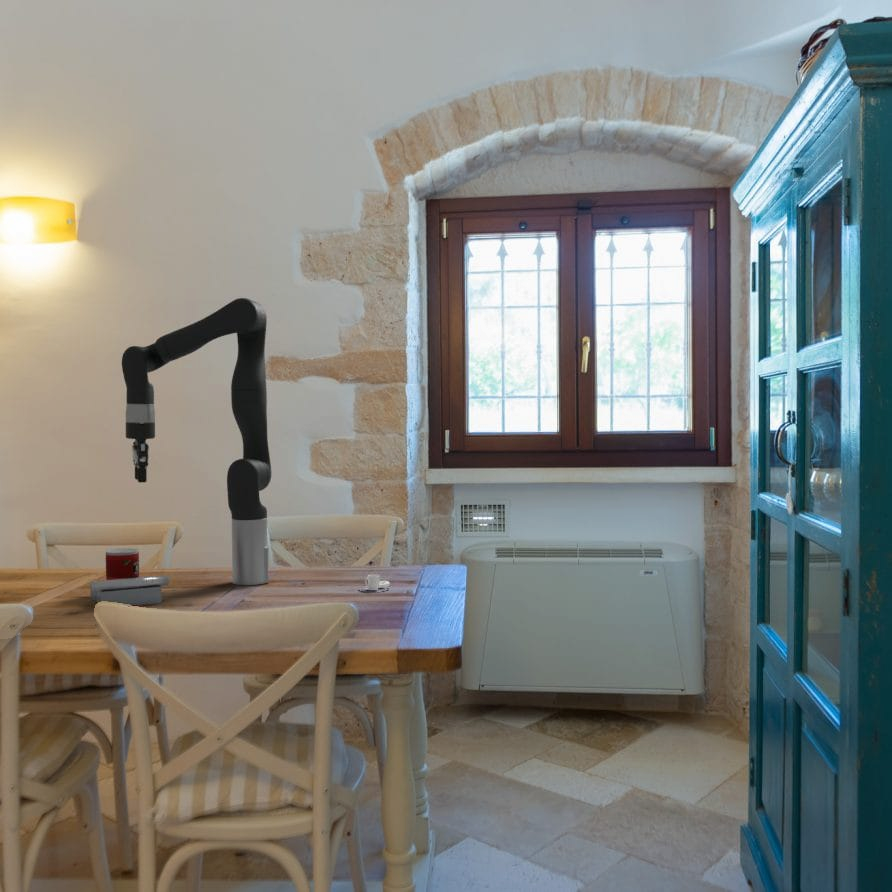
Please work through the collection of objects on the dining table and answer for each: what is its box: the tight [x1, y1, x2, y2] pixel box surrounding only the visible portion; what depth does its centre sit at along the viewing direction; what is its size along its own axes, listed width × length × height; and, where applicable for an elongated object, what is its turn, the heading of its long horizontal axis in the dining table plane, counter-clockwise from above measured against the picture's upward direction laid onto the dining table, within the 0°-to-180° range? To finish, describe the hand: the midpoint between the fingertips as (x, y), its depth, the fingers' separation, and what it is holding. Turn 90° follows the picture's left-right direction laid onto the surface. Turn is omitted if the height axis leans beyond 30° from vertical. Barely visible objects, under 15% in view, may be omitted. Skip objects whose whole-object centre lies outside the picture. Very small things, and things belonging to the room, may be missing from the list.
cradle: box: [89, 574, 170, 606], centre depth 214 cm, size 17×14×6 cm
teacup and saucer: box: [364, 573, 391, 590], centre depth 227 cm, size 9×8×4 cm
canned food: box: [105, 547, 140, 580], centre depth 222 cm, size 8×8×11 cm
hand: (140, 480), depth 240 cm, fingers open, 8 cm apart
